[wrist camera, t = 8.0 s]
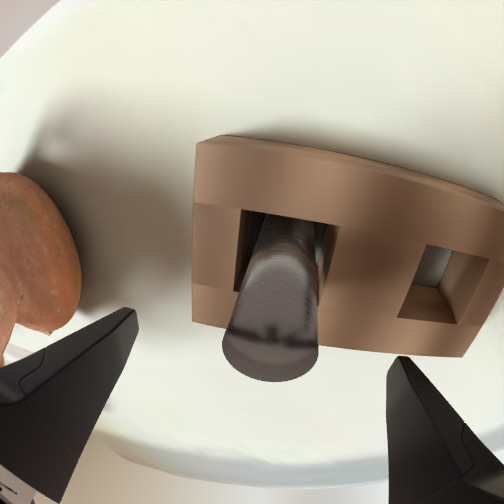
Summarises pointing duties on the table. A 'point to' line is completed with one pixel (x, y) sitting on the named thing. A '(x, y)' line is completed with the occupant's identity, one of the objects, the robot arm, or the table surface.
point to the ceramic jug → (34, 261)
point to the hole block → (350, 243)
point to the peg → (276, 305)
